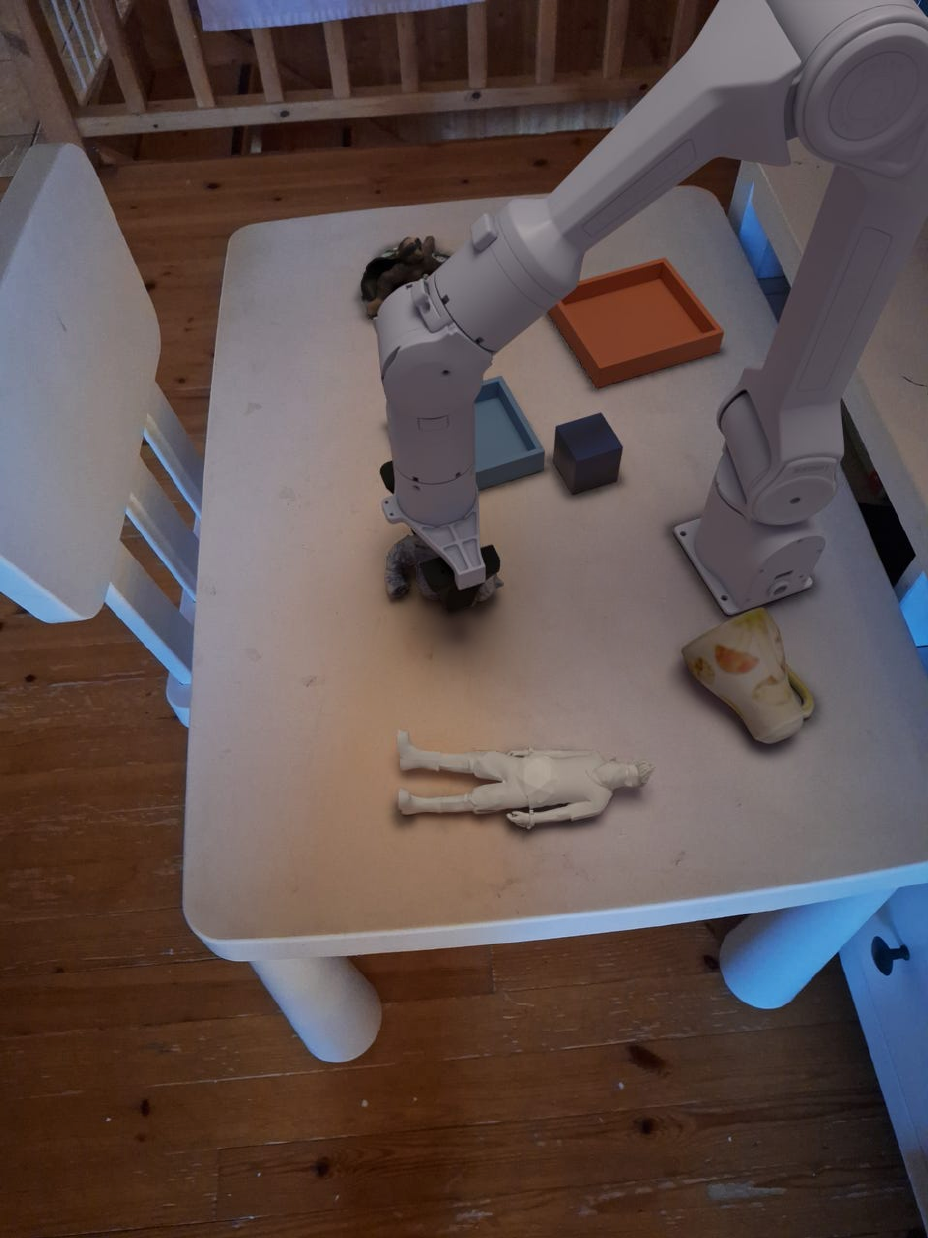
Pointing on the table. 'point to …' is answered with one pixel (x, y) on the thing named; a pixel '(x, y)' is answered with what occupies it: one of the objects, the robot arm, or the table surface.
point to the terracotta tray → (635, 322)
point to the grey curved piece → (417, 552)
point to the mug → (751, 674)
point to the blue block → (587, 453)
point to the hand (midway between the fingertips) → (441, 567)
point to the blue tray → (503, 437)
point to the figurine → (524, 781)
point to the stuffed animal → (398, 270)
